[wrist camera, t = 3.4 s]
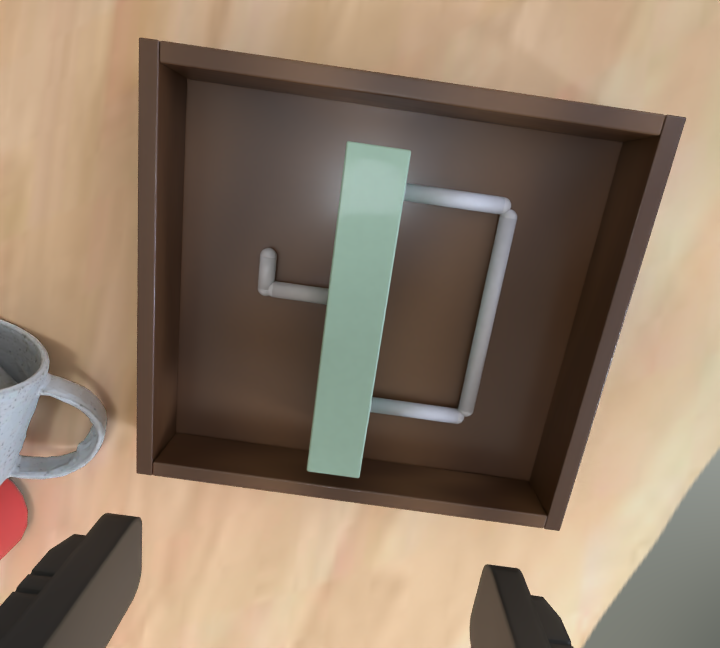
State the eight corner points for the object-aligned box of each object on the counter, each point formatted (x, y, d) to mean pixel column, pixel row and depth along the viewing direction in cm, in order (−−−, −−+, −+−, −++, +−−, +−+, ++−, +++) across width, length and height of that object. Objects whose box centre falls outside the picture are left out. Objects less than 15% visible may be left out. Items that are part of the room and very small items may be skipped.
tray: (638, 128, 22) (687, 117, 19) (536, 488, 28) (559, 531, 24) (175, 60, 22) (138, 36, 18) (165, 437, 27) (135, 473, 24)
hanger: (523, 175, 22) (565, 172, 17) (464, 439, 26) (485, 496, 21) (271, 138, 22) (242, 125, 17) (249, 409, 26) (221, 460, 21)
